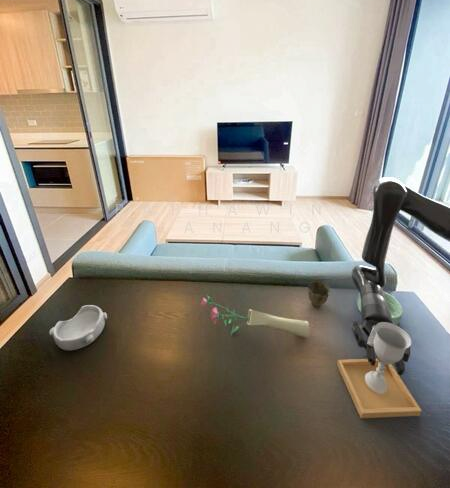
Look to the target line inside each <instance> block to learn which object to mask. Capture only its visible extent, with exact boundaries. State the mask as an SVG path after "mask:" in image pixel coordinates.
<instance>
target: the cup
mask: <svg viewBox="0 0 450 488" xmlns="http://www.w3.org/2000/svg"><path fill="white" fill-rule="evenodd" d="M330 292H331V290H330V286H328V284H327V283H324V284H323V283H322V281H321V280H317V279H315V280H314V281H313V280H311V281H309V282H308V285H307V296H308V299H309V301H310V303H311V305H312V306H313V307H314V308H320V307H321V306H323V305H324V304H326V303H327V300H328V298H329V295H330Z"/></svg>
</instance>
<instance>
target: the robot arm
mask: <svg viewBox="0 0 450 488" xmlns="http://www.w3.org/2000/svg"><path fill="white" fill-rule="evenodd" d="M371 197H372V201H373V204H372V207H373V208H372V217H371V223H370V225H369V228H368V231H367V233H366V236H365V239H364V243H363V248H362V251H361V259H362V260H363V262H365V263H367V265H368V264H369V265H370V266H366V265H362V264H357V265H355V266H354V267H353V268H352V269H351V279H352V282H353V284H354V286H355V287H356V289H357V291H358V293H359V294H360V298H361V312H362V313H361V312H360V313H361V318H362V324H361V323H359V322H358V321H356V320H354V321H353V322H352V326H351V330H352V334H353V336H354V338H355V342H356V344H357V346H358V347H359V348H363V349H364V350H365V352H366V359H367V360H368V362H370V363H371V365H372V366H375V363H376V359H377V357H376V353H375V350H374V344H373V342H374V339H375V335H376V330H375V327H376V325H377V324H378V323H380V322H388V323H392V324H393V321H392V318H391V314H390V310H389V307H388V304H387V302H386V299H385V295H384V292H385V291H384V290H383V289H384V288H385V287H386V284H387V276H386V269H385V268H386V258H387V254H388V251H389V245H390V241H391V237H392V233H393V228H394V226H395V223H396V220H397V218H398V216H399V214H400V212H403V213H404V214H407V215H408V216H410V217H412V218H413V219H414V220H415V221H417V222H418V223H419V224H421V225H422V226H424V227H425V228H426V229H428V230H429V231H431V232H432V233H434V234H435V235H437V237H440V238H442V239H443V240H446V241H448V242H449V243H450V206H448V205H446V204H443V203H441V202H440V201H439V202H438V201H436V200H434V199H431V198H428V197H427V196H425V195H422V194H420V193H419V192H417V191H415V190H414V189H412V188H411V187H409V186H407V185H406V184H404V183H402V182H401V181H400V180H399V179H396V178H394V177H382V178H379V179H377V180H376V181H375V182H373V184H372V186H371ZM371 266H372V267H371ZM383 291H384V292H383ZM363 332H364V333H365V335H366V336H367V337H368V340H366V339H365V338H364V335H363ZM410 358H411V346H410V347H408V348H406V350H405V353H404V355H403V358H402V359H401V360H399V361H398V362H396V363H394V368H395V371H396V372H397V374H398V375H399V376H402V375H403V374H404V373H405V370H406V365H405V363H408V362H409V359H410Z"/></svg>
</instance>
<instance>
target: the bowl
mask: <svg viewBox="0 0 450 488" xmlns="http://www.w3.org/2000/svg"><path fill="white" fill-rule="evenodd" d="M383 292H384V295H385V299H386V302H387V304H388V307H389V310H390V314H391V318H392V321H393V324H394V325H396V326H398V325H399V323H400V322H401V319H402V316H403V314H404V308H403V307H402V304H401V303H400V302H399V301H398V299H397V298H395V297H394V296H393V295H391V294H389V293H387V292H386V291H384V290H383ZM357 298H358V299H357V303H356V305H357V309H358V310H359V312H360V313H361V314H362V312H361V298H360V293H359V295H358V297H357Z"/></svg>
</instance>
